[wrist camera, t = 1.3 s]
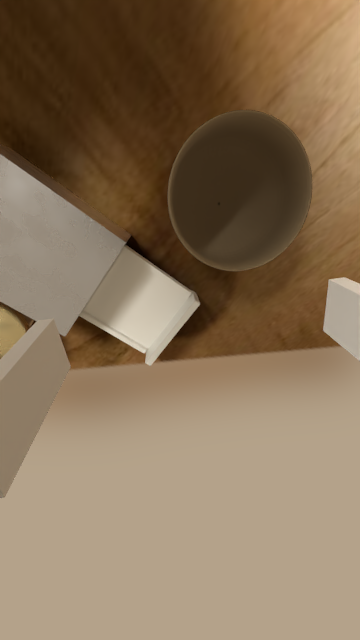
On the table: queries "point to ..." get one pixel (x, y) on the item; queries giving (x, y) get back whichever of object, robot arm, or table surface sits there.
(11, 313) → the gold disc
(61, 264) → the housing
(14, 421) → the robot arm
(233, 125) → the bowl
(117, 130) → the table surface
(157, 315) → the tray
